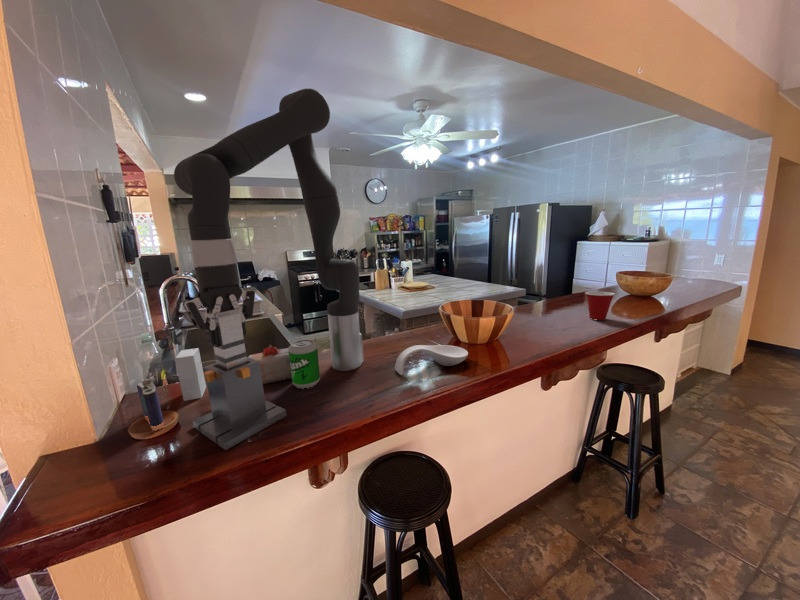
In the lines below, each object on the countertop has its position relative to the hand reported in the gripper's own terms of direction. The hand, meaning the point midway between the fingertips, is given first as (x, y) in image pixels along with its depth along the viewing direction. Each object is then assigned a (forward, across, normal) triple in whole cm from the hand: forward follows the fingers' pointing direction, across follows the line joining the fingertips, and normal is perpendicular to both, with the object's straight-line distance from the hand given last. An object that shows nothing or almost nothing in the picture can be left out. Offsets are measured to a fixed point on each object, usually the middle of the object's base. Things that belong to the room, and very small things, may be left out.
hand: (228, 341), depth 68 cm
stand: (+19, 0, 0) cm, 19 cm away
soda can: (+19, -20, -2) cm, 28 cm away
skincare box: (+19, 0, -23) cm, 30 cm away
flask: (+19, +11, -17) cm, 28 cm away
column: (+17, 0, 0) cm, 17 cm away
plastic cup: (+20, -128, +60) cm, 143 cm away
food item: (+19, -17, -13) cm, 29 cm away
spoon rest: (+20, -49, +22) cm, 57 cm away
